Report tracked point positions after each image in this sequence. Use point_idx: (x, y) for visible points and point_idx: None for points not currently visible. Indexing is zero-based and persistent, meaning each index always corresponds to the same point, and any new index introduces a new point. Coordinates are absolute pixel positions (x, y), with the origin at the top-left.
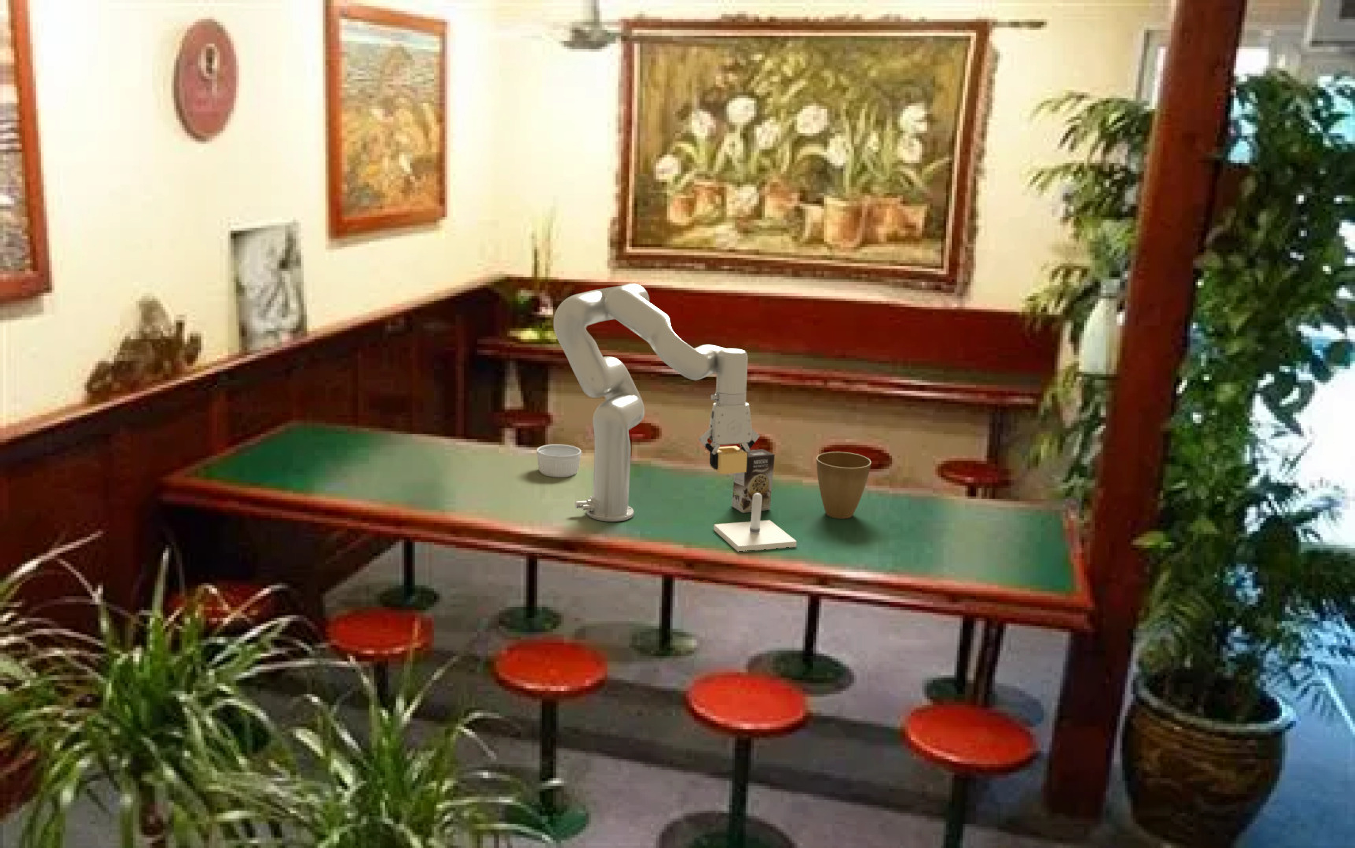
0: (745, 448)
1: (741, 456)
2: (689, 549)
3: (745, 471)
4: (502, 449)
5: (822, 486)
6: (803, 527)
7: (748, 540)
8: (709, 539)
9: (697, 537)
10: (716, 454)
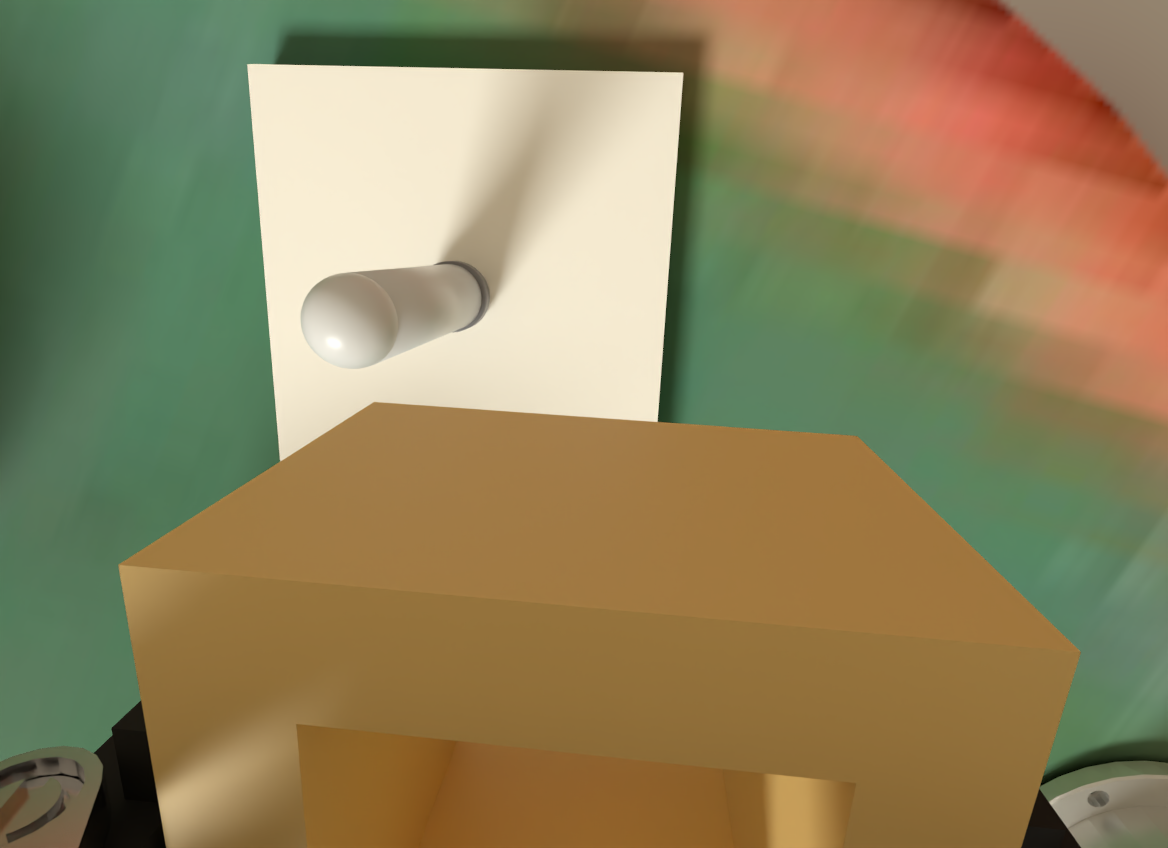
0: (48, 843)
1: (353, 534)
2: (979, 216)
3: (384, 405)
4: None
5: None
6: (116, 377)
7: (563, 166)
8: (755, 349)
9: (812, 402)
10: (1054, 829)
